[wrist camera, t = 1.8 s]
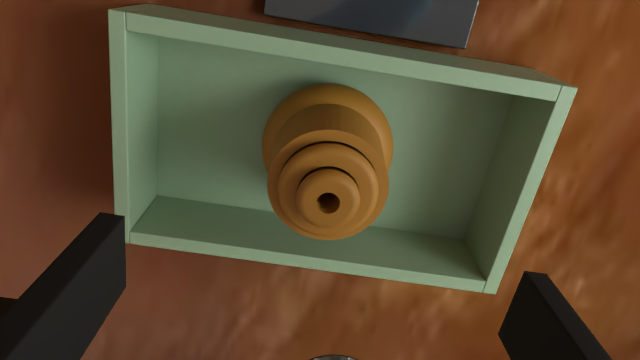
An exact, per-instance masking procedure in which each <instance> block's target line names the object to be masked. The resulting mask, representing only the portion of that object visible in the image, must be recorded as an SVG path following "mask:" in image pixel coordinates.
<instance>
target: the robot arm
mask: <svg viewBox="0 0 640 360" xmlns="http://www.w3.org/2000/svg"><path fill="white" fill-rule="evenodd" d="M125 287H126V257H125V216H122V215H115V214H108V213H99V214H98V215H97V216H96V217H95V218H94V219H93V220H92V221H91V222H90V223H89V224H88V226H87V227H86V228H85V229H84V230H83V231H82V232H81V233H80V234H79V235H78V236H77V237H76V238H75V239H74V240H73V241H72V242H71V243H70V245H69V246H68V247H67V248H66V249H65V250H64V251H63V252H62V253H61V254H60V255H59V256H58V257H57V258H56V259H55V260H54V261H53V262H52V264H51V265H50V266H49V267H48V268H47V269H46V270H45V271H44V272H43V273H42V274H41V275H40V276H39V277H38V278H37V279H36V280H35V282H34V283H33V284H32V285H31V286H30V287H29V288H28V289H27V290H26V291H25V292H24V293H23V294H22V295H21V296H20V297H19V298H18V299H12V298H4V297H0V360H80V358H81V357H82V355H83V354H84V352H85V351H86V349H87V347H88V346H89V344H90V343H91V341H92V340H93V338H94V336H95V335H96V333H97V332H98V330H99V328H100V327H101V325H102V324H103V322H104V321H105V319H106V317H107V316H108V314H109V313H110V311H111V309H112V308H113V306H114V305H115V303H116V302H117V300H118V298H119V297H120V295H121V294H122V292H123V291H124V289H125ZM498 335H499V337H500V339H501V341H502V343H503V345H504V347H505V349H506V351H507V353H508V355H509V357H510V359H511V360H612V359H611V357H610V356H609V355H608V353H607V352H606V351H605V350H604V348H603V347H602V346H601V344H600V343H599V342H598V340H597V339H596V338H595V337H594V335H593V334H592V333H591V331H590V330H589V329H588V327H587V326H586V325H585V324H584V322H583V321H582V320H581V318H580V317H579V316H578V314H577V313H576V312H575V311H574V309H573V308H572V307H571V305H570V304H569V303H568V301H567V300H566V299H565V298H564V296H563V295H562V294H561V292H560V291H559V290H558V288H557V287H556V286H555V285H554V283H553V282H552V281H551V279H550V278H549V277H548V275H547V274H543V273H535V272H528V271H524V273H523V276H522V278H521V280H520V283H519V285H518V288H517V290H516V292H515V295H514V297H513V300H512V302H511V304H510V307H509V309H508V312H507V314H506V316H505V319H504V321H503V323H502V326H501V328H500V331H499V333H498Z"/></svg>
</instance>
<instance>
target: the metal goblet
mask: <svg viewBox="0 0 640 360" xmlns="http://www.w3.org/2000/svg"><path fill="white" fill-rule="evenodd" d="M312 360H356V359H354V358H351V357H346V356H339V355H330V356H322V357H318V358H315V359H312Z"/></svg>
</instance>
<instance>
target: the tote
mask: <svg viewBox="0 0 640 360" xmlns="http://www.w3.org/2000/svg"><path fill="white" fill-rule="evenodd" d="M108 32H109V62H110V93H111V123H112V154H113V184H114V214H115V215H122V216H125V243H130V244H136V245H143V246H150V247H158V248H165V249H172V250H179V251H186V252H194V253H201V254H208V255H215V256H222V257H230V258H237V259H244V260H251V261H259V262H266V263H273V264H280V265H287V266H295V267H302V268H309V269H316V270H323V271H331V272H338V273H345V274H352V275H359V276H367V277H374V278H381V279H388V280H395V281H403V282H410V283H417V284H424V285H432V286H439V287H446V288H453V289H460V290H468V291H475V292H483V293H489V294H496V291H497V289H498V286H499V284H500V281H501V279H502V276H503V274H504V271H505V269H506V266H507V264H508V261H509V259H510V256H511V254H512V251H513V249H514V246H515V244H516V241H517V239H518V236H519V234H520V231H521V229H522V226H523V224H524V221H525V219H526V216H527V214H528V211H529V209H530V206H531V204H532V201H533V199H534V196H535V194H536V191H537V189H538V186H539V184H540V181H541V179H542V176H543V174H544V172H545V169H546V167H547V164H548V162H549V159H550V157H551V154H552V152H553V149H554V147H555V144H556V142H557V139H558V137H559V134H560V132H561V129H562V127H563V124H564V122H565V119H566V117H567V114H568V112H569V109H570V107H571V104H572V102H573V99H574V97H575V94H576V92H577V89H578V88H577V87H574V86H572V85H570V84H568V83H565V82H563V81H561V80H558V79H556V78H554V77H552V76H549V75H547V74H545V73H542V72H540V71H538V70H536V69H533V68H527V67H521V66H515V65H509V64H503V63H497V62H491V61H486V60H480V59H474V58H468V57H462V56H456V55H450V54H444V53H438V52H432V51H427V50H421V49H415V48H409V47H403V46H397V45H391V44H385V43H379V42H373V41H368V40H362V39H356V38H350V37H344V36H338V35H332V34H326V33H320V32H314V31H309V30H303V29H297V28H291V27H285V26H279V25H273V24H267V23H261V22H255V21H250V20H244V19H238V18H232V17H226V16H220V15H214V14H208V13H202V12H197V11H191V10H185V9H179V8H173V7H167V6H161V5H155V4H149V3H145V4H140V5H133V6H126V7H120V8H113V9H108ZM320 83H336V84H342V85H346V86H349V87H352V88H354V89H357V90H359V91H360V92H362V93H364V94H365V95H367V96H368V97H369V98H371V99H372V100H373V101H374V102H375V103H376V104H377V105H378V106H379V108H380V109H381V110H382V112H383V113H384V115H385V117H386V118H387V120H388V123H389V125H390V128H391V132H392V137H393V156H392V161H391V165H390V168H389V170H388V178H389V192H388V197H387V201H386V203H385V206H384V208H383V210H382V211H381V213H380V214H379V216H378V217H377V218H376V219H375V220H374V222H373V223H372V224H370V225H369V226H368V227H367V228H365V229H364V230H362V231H361V232H359V233H357V234H355V235H352V236H349V237H346V238H342V239H337V240H319V239H313V238H310V237H306V236H304V235H301V234H299V233H297V232H295V231H294V230H292V229H291V228H289V227H288V226H287V225H286V224H284V223H283V222H282V221H281V219H280V218H279V217H278V216H277V214H276V213H275V212H274V210H273V208H272V206H271V203H270V200H269V197H268V192H267V178H268V173H267V170H266V168H265V165H264V161H263V156H262V137H263V132H264V128H265V125H266V123H267V121H268V119H269V117H270V115H271V113H272V112H273V110H274V109H275V108H276V106H277V105H278V104H279V103H280V102H281V101H282V100H283V99H285V98H286V97H287V96H288V95H290V94H291V93H293V92H295V91H297V90H299V89H301V88H303V87H306V86H309V85H314V84H320Z"/></svg>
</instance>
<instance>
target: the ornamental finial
mask: <svg viewBox="0 0 640 360" xmlns="http://www.w3.org/2000/svg"><path fill="white" fill-rule="evenodd" d="M262 156H263V161H264V165H265V168H266V170H267V173H268V178H267V192H268V197H269V200H270V203H271V206H272V208H273V210H274V212H275V213H276V214H277V216H278V217H279V218H280V219H281V221H282V222H283V223H284V224H286V225H287V226H288V227H289V228H291V229H292V230H294V231H295V232H297V233H299V234H301V235H304V236H306V237H310V238H313V239H319V240H337V239H342V238H346V237H349V236H352V235H355V234H357V233H359V232H361V231H362V230H364V229H365V228H367V227H368V226H369V225H370V224H372V223H373V222H374V220H375V219H376V218H377V217H378V216H379V214H380V213H381V211H382V210H383V208H384V206H385V203H386V201H387V197H388V192H389V178H388V170H389V168H390V165H391V161H392V156H393V137H392V132H391V128H390V125H389V123H388V120H387V118H386V117H385V115H384V113H383V112H382V110H381V109H380V108H379V106H378V105H377V104H376V103H375V102H374V101H373V100H372V99H371V98H369V97H368V96H367V95H365V94H364V93H362V92H360V91H359V90H357V89H354V88H352V87H349V86H346V85H342V84H336V83H320V84H314V85H309V86H306V87H303V88H301V89H299V90H297V91H295V92H293V93H291V94H290V95H288V96H287V97H286V98H285V99H283V100H282V101H281V102H280V103H279V104H278V105H277V106H276V108H275V109H274V110H273V112H272V113H271V115H270V117H269V119H268V121H267V123H266V125H265V128H264V132H263V137H262Z"/></svg>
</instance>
